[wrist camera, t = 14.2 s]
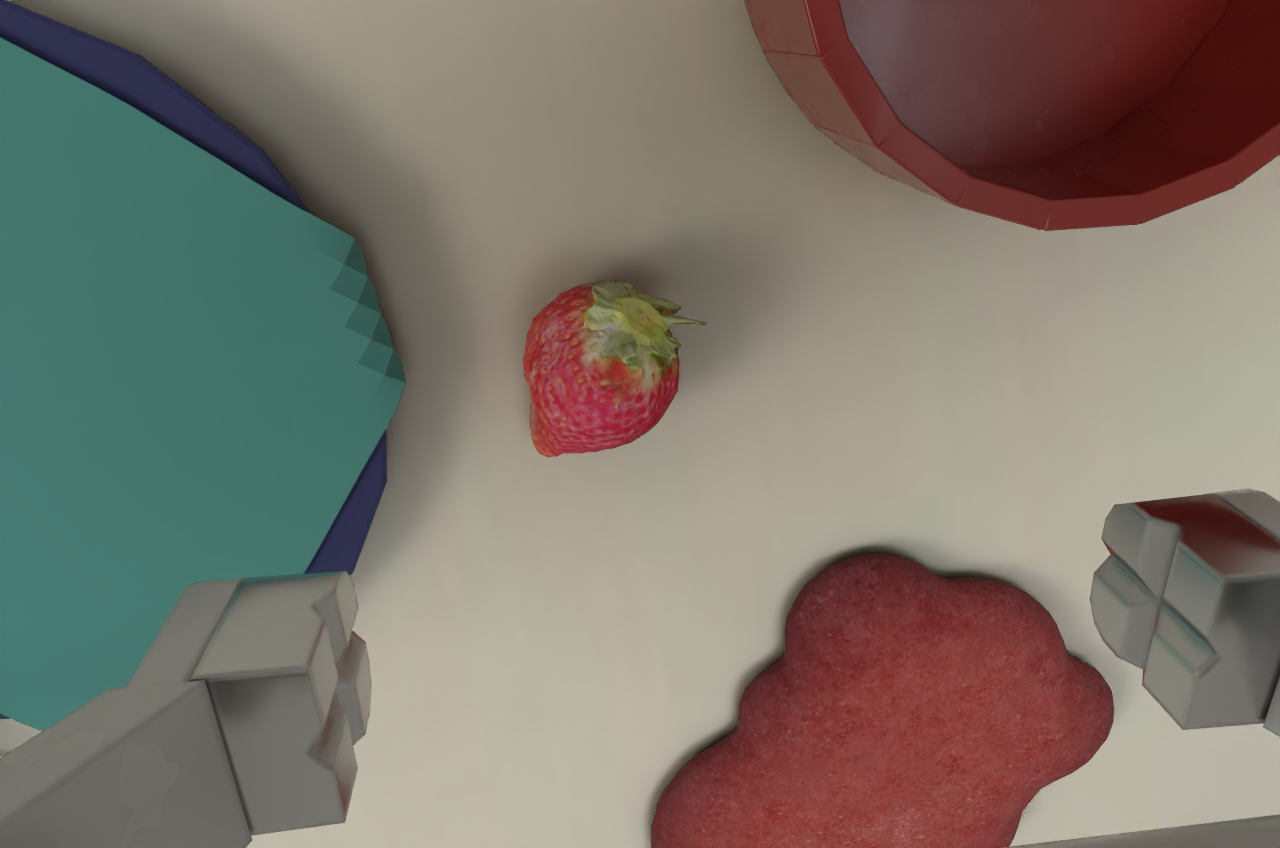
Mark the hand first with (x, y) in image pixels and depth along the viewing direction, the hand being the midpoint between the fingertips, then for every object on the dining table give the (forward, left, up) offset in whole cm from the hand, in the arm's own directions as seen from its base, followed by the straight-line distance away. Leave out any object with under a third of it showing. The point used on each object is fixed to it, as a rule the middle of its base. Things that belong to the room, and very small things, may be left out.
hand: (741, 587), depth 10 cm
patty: (+20, +8, -17) cm, 28 cm away
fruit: (+3, -1, -17) cm, 17 cm away
